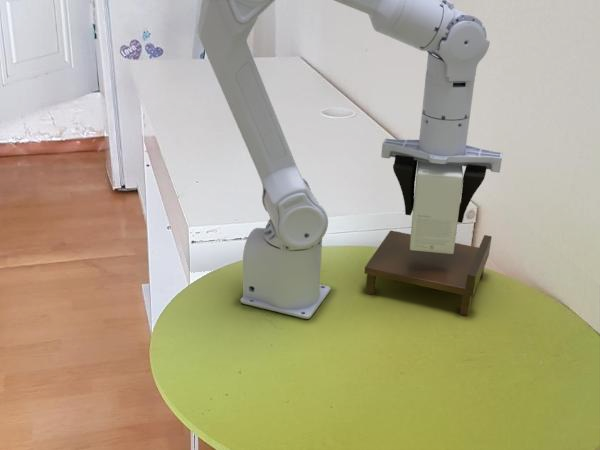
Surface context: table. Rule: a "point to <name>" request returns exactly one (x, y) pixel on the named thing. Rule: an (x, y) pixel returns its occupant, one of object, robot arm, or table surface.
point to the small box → (436, 207)
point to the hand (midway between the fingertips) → (434, 215)
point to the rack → (429, 266)
